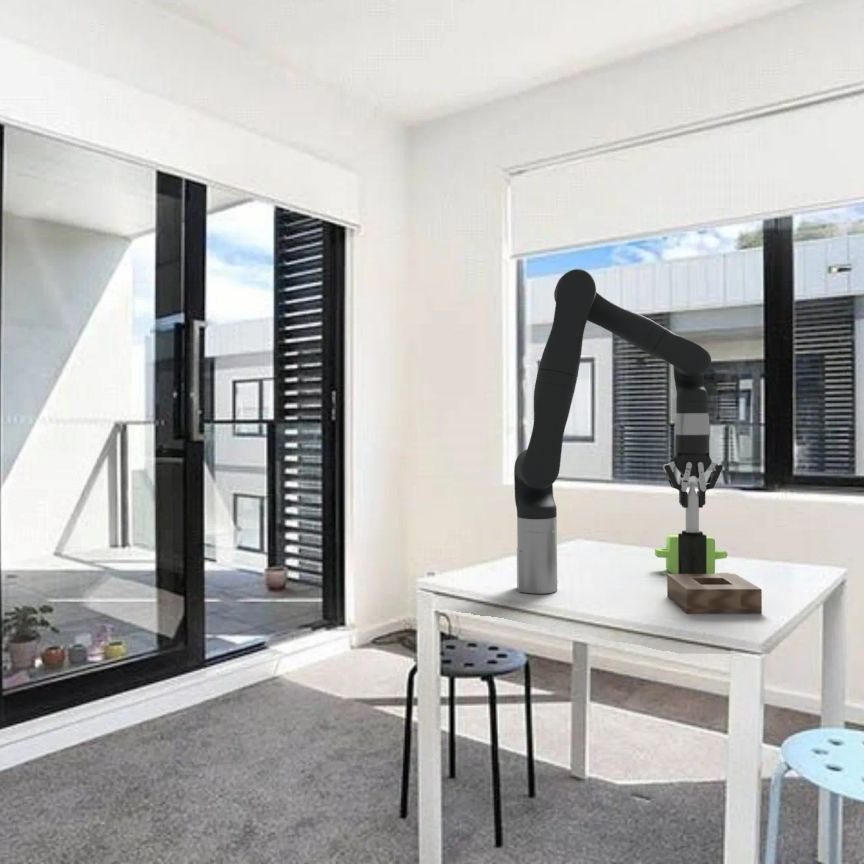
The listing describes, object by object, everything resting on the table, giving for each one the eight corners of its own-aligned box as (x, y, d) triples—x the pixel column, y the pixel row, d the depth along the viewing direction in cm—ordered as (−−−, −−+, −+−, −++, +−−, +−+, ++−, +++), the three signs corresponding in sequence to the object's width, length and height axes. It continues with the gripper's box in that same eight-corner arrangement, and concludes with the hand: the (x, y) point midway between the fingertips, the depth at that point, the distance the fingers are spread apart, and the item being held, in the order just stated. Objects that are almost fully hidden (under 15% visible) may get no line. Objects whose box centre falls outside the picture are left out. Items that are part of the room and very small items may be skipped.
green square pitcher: (722, 570, 197) (722, 534, 197) (733, 576, 187) (733, 538, 187) (653, 568, 199) (653, 532, 199) (660, 574, 189) (660, 536, 189)
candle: (676, 587, 174) (675, 481, 173) (693, 586, 176) (693, 480, 175) (690, 592, 169) (690, 483, 169) (708, 590, 171) (708, 482, 170)
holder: (686, 613, 152) (686, 589, 152) (667, 596, 167) (667, 573, 167) (761, 613, 151) (761, 589, 151) (735, 596, 166) (735, 573, 166)
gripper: (665, 433, 168) (665, 509, 169) (728, 433, 168) (728, 509, 168) (657, 432, 176) (657, 505, 176) (717, 432, 175) (717, 505, 175)
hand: (692, 507), depth 172 cm, fingers closed on candle, 3 cm apart
